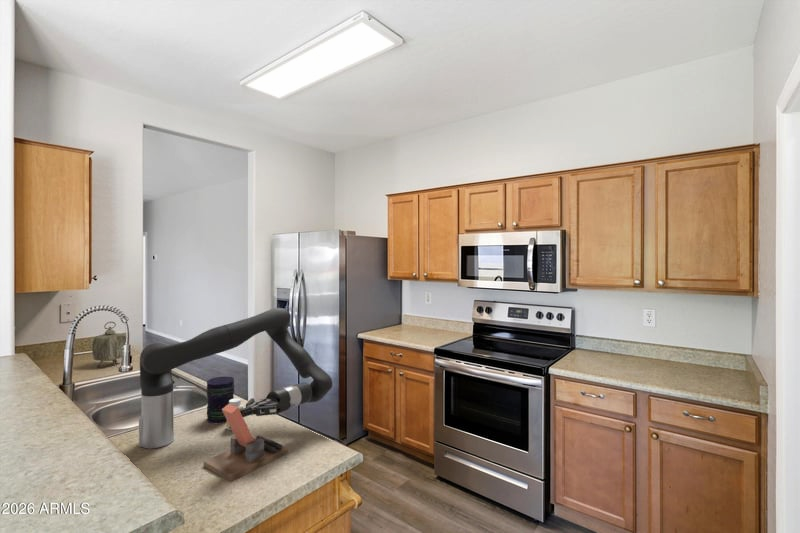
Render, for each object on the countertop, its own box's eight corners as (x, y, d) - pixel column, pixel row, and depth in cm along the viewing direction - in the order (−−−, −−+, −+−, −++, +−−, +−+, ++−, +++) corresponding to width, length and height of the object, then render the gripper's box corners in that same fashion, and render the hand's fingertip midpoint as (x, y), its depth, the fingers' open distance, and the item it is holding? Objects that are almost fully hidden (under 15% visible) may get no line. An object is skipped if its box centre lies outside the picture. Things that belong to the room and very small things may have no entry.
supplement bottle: (228, 432, 143) (228, 403, 143) (225, 426, 148) (225, 399, 148) (244, 428, 146) (244, 400, 146) (241, 423, 151) (241, 396, 151)
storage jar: (207, 415, 158) (206, 378, 157) (234, 411, 162) (233, 375, 162) (206, 425, 149) (206, 385, 148) (235, 421, 153) (234, 382, 153)
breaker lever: (246, 440, 127) (228, 403, 121) (256, 445, 124) (238, 407, 119) (240, 446, 125) (221, 409, 120) (250, 451, 122) (231, 413, 117)
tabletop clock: (115, 361, 237) (115, 319, 236) (128, 362, 235) (128, 320, 234) (92, 368, 222) (91, 323, 222) (106, 369, 221) (105, 324, 220)
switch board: (260, 441, 137) (260, 422, 136) (287, 452, 129) (287, 432, 128) (203, 466, 120) (203, 444, 120) (231, 481, 112) (230, 458, 112)
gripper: (271, 384, 140) (226, 397, 125) (297, 391, 132) (251, 406, 118) (271, 406, 140) (225, 421, 125) (297, 414, 132) (251, 432, 118)
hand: (238, 414), depth 122 cm, fingers closed
